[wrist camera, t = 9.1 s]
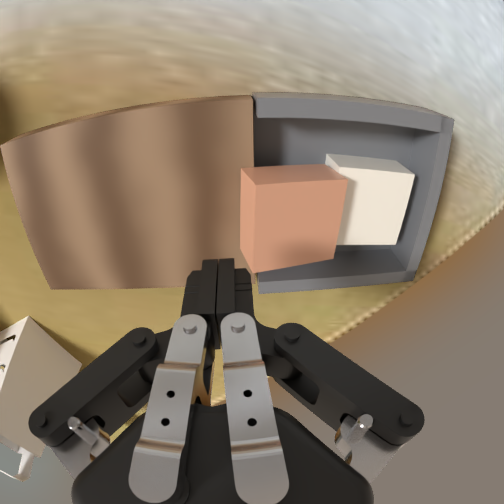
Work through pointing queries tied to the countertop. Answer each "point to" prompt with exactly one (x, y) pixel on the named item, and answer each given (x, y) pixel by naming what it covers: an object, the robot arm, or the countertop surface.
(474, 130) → the countertop surface
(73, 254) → the walnut ledge
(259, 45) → the countertop surface
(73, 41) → the countertop surface
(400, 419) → the robot arm
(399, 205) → the cream tile
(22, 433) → the grater
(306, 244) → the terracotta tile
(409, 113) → the box
